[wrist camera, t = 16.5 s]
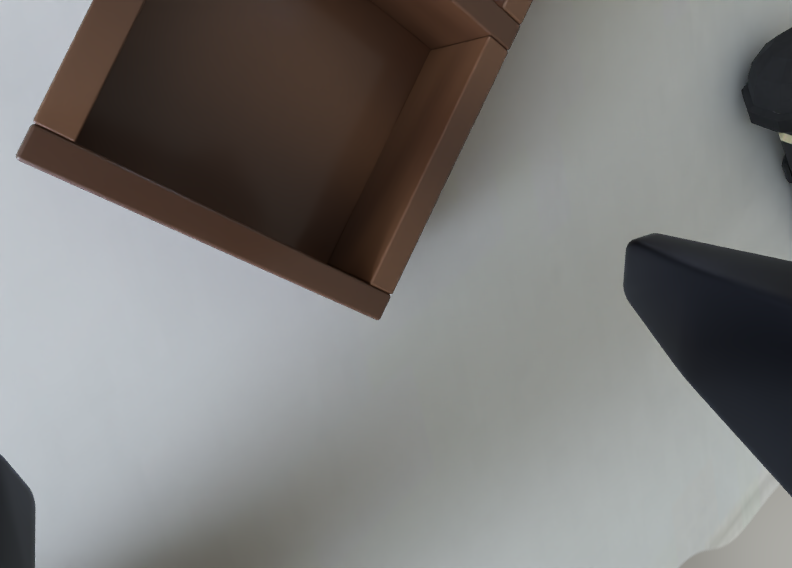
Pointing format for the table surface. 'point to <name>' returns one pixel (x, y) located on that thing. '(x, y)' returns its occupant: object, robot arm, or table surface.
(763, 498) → the table surface
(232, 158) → the divided wooden tray
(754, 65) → the microphone
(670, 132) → the table surface
